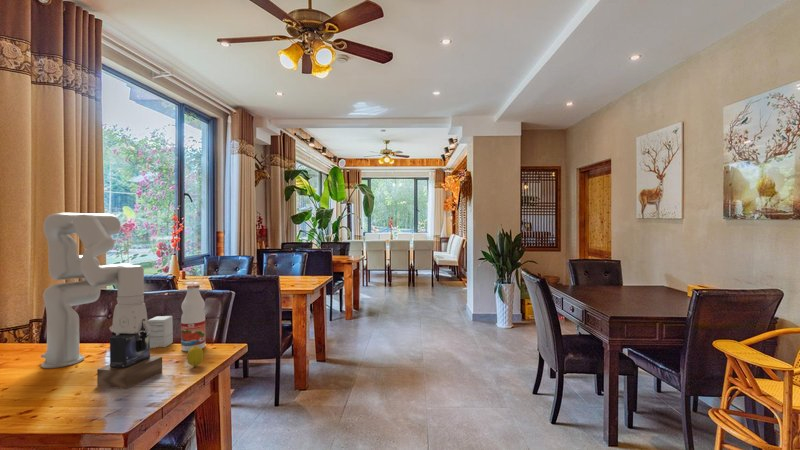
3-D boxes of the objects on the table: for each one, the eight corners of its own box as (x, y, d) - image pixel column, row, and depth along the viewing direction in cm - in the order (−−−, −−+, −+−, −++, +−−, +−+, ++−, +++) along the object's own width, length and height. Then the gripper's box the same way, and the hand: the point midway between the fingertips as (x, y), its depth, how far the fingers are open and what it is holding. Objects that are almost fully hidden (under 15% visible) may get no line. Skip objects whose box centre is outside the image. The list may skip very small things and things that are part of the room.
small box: (125, 368, 123) (124, 337, 124) (109, 368, 124) (107, 337, 125) (151, 357, 134) (150, 328, 134) (136, 357, 135) (135, 328, 135)
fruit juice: (208, 344, 168) (207, 283, 168) (202, 350, 158) (201, 286, 159) (185, 345, 165) (185, 284, 166) (177, 352, 156) (177, 287, 157)
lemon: (206, 365, 142) (206, 344, 142) (194, 370, 136) (194, 348, 137) (196, 363, 144) (195, 343, 144) (183, 368, 138) (183, 347, 138)
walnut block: (97, 387, 123) (97, 369, 124) (135, 371, 137) (134, 355, 137) (126, 389, 121) (126, 371, 121) (162, 373, 135) (162, 356, 135)
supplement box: (156, 343, 170) (156, 316, 170) (173, 342, 170) (173, 315, 171) (147, 348, 162) (146, 320, 163) (164, 347, 163) (164, 319, 163)
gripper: (99, 301, 127) (99, 353, 127) (144, 302, 125) (144, 355, 124) (118, 297, 134) (118, 346, 134) (161, 298, 132) (161, 347, 132)
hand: (130, 350), depth 129 cm, fingers open, 7 cm apart
